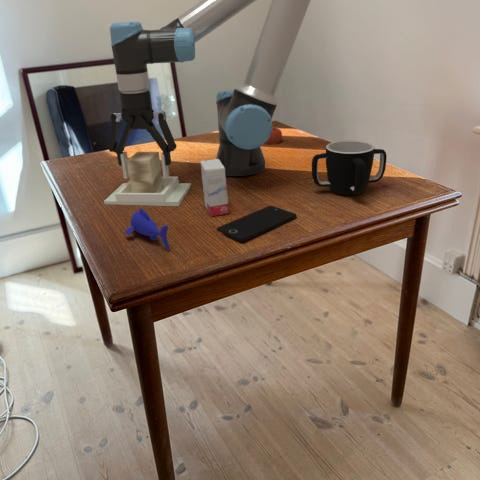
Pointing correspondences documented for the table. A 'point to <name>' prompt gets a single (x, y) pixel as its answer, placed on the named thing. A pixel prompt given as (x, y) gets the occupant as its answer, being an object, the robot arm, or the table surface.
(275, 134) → the apple
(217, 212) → the ink box
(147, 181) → the tan wooden block
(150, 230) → the fish toy
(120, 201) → the chassis bay
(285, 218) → the cell phone
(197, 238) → the table surface
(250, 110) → the robot arm
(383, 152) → the mug
